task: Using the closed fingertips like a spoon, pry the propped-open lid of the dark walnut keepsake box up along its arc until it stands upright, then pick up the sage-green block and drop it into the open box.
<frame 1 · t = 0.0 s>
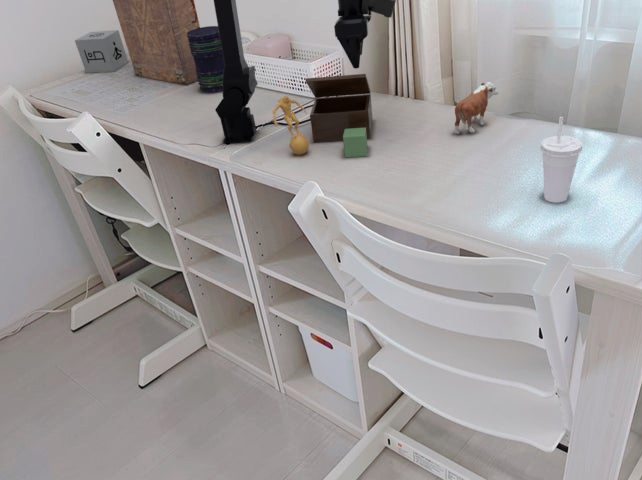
hand: (357, 61, 127), 15 cm above the table, tool pointing down, fingers open, 9 cm apart
bull figurine: (474, 127, 131), on the table
storage jar: (217, 88, 171), on the table
box: (343, 131, 136), on the table
figurine: (297, 153, 129), on the table
icon cube: (107, 68, 200), on the table
book: (172, 76, 185), on the table
lid: (339, 86, 130), point 10 cm above the table, hinge at 35.0°
block: (356, 152, 126), on the table
smoothie: (555, 198, 103), on the table
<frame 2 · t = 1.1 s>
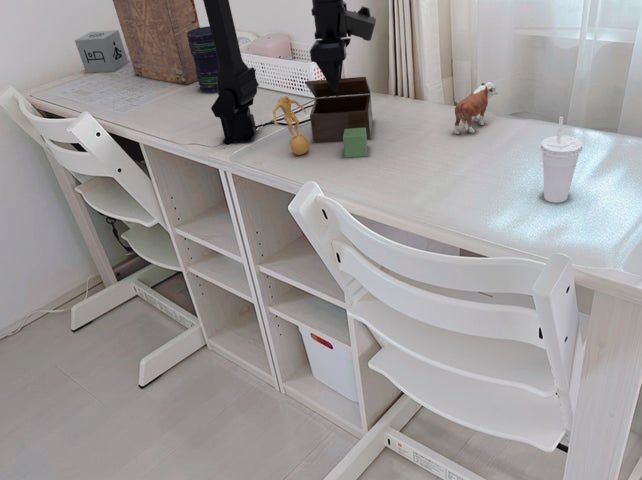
hand: (337, 85, 121), 13 cm above the table, tool pointing down, fingers open, 6 cm apart
lid: (339, 87, 130), point 10 cm above the table, hinge at 32.1°
everything else where it was.
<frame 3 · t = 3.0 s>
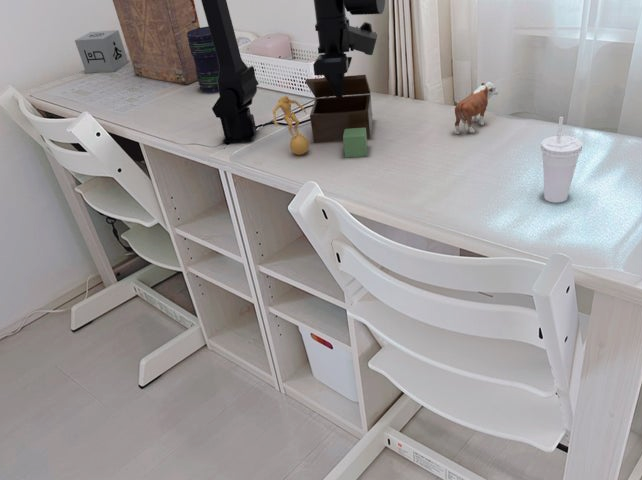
hand: (339, 97, 125), 10 cm above the table, tool pointing down, fingers closed
lid: (339, 86, 130), point 10 cm above the table, hinge at 34.2°, touching gripper
everything else where it was.
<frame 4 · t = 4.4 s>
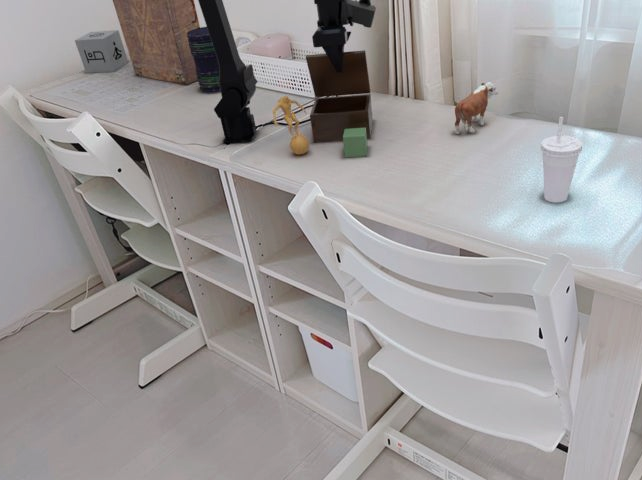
hand: (339, 72, 126), 14 cm above the table, tool pointing down, fingers closed
lid: (339, 74, 131), point 12 cm above the table, hinge at 62.6°, touching gripper
everything else where it was.
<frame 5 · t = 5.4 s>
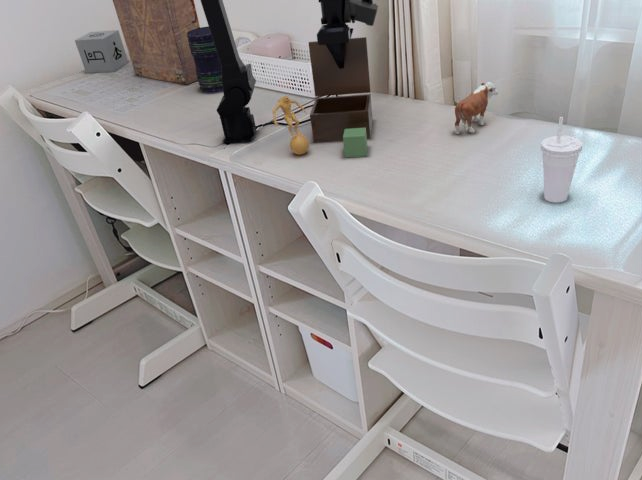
hand: (341, 68, 130), 13 cm above the table, tool pointing down, fingers closed
lid: (340, 67, 133), point 12 cm above the table, hinge at 93.3°, touching gripper
everything else where it was.
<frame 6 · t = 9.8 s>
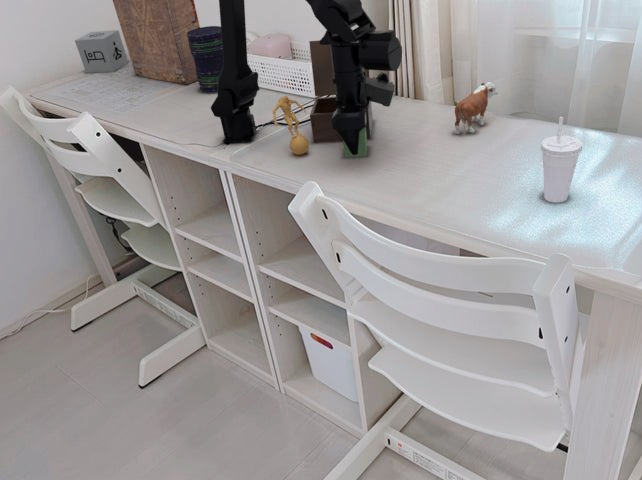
hand: (356, 146, 125), 1 cm above the table, tool pointing down, fingers open, 8 cm apart
lid: (340, 67, 133), point 12 cm above the table, hinge at 99.9°
everything else where it was.
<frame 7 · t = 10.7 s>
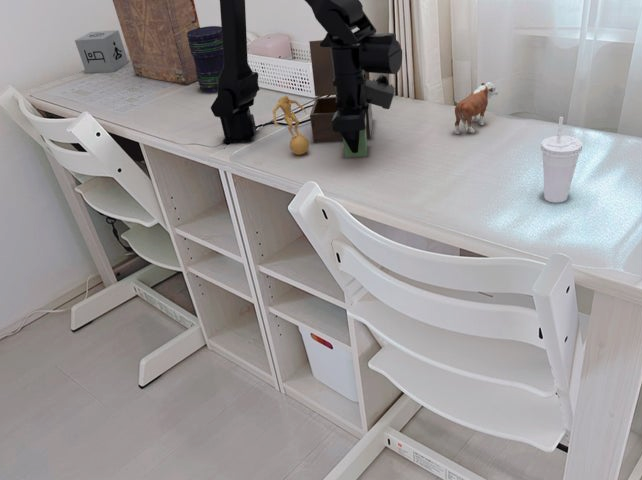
hand: (356, 147, 125), 1 cm above the table, tool pointing down, fingers closed on block, 4 cm apart
block: (356, 152, 126), on the table, touching gripper
everything else where it was.
when the fingers open (4 cm above the table, at t = 16.0 s): block drops 3 cm, resting on box.
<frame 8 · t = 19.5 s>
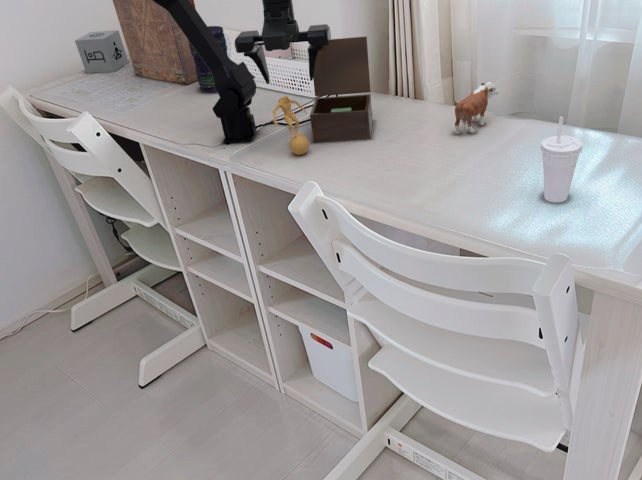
hand: (289, 81, 127), 13 cm above the table, tool pointing down, fingers open, 9 cm apart
block: (342, 131, 134), point 1 cm above the table, touching box
everything else where it was.
at the end: lid at +100° (first picture: +35°); block inside the target area in the box (1.6 cm from its centre), point 0.7 cm above the box's base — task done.
